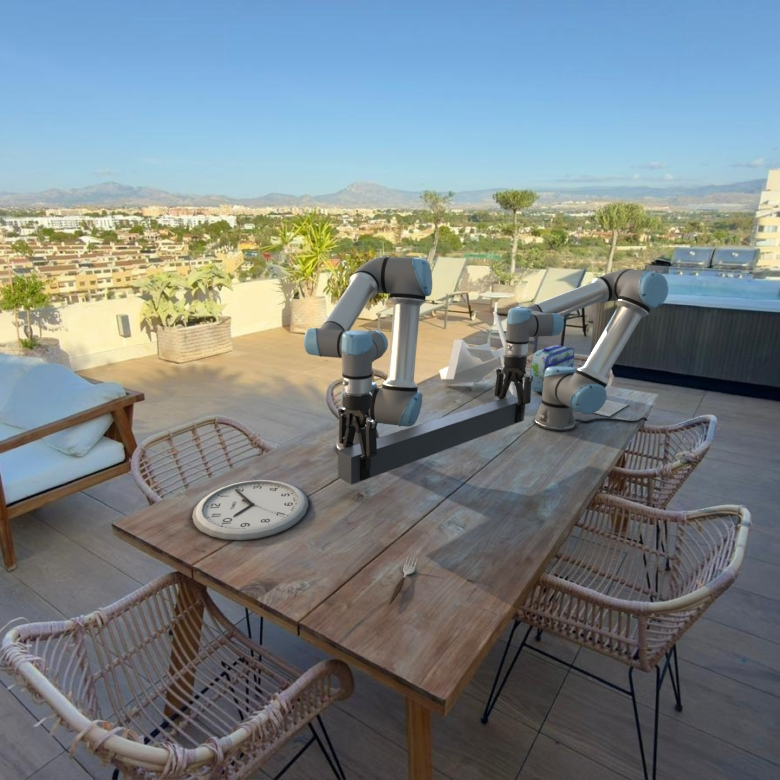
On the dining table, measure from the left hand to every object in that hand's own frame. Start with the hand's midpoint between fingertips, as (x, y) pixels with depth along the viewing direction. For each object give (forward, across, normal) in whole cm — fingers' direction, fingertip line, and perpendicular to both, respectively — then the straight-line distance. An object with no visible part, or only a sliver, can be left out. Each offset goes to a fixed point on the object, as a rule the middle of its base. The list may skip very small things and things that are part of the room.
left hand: (357, 474), depth 140 cm
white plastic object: (+10, -46, +107) cm, 117 cm away
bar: (+1, 0, +34) cm, 34 cm away
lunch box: (+10, -27, +136) cm, 139 cm away
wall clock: (+9, -17, -23) cm, 30 cm away
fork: (+10, +32, -13) cm, 36 cm away
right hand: (0, 0, +67) cm, 67 cm away
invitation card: (+10, +1, +133) cm, 133 cm away
